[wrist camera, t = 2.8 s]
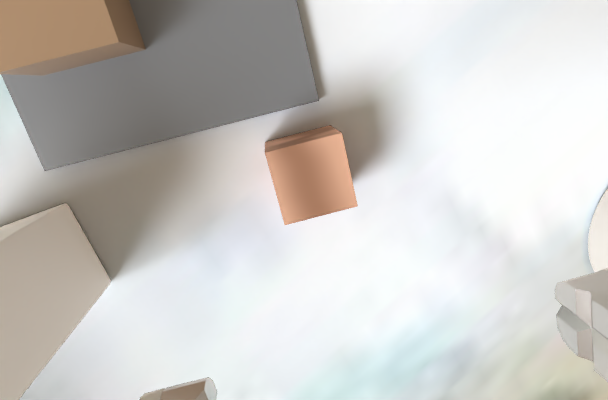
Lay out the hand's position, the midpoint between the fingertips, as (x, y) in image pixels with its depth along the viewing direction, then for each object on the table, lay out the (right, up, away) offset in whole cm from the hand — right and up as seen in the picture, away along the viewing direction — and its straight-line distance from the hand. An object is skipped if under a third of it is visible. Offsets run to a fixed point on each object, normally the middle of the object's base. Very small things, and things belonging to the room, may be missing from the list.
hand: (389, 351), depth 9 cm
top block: (-2, +6, +21) cm, 22 cm away
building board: (-12, +15, +18) cm, 26 cm away
